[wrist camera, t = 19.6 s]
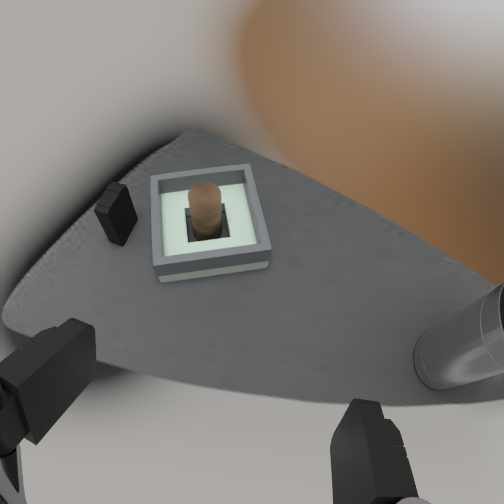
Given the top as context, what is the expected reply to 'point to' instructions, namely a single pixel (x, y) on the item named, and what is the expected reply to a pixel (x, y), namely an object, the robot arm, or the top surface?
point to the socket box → (216, 250)
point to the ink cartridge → (116, 213)
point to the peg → (205, 211)
